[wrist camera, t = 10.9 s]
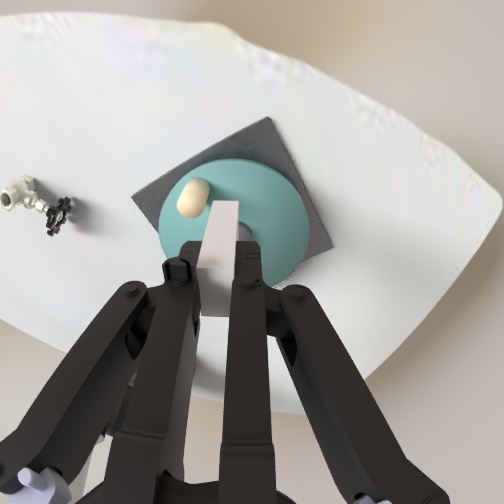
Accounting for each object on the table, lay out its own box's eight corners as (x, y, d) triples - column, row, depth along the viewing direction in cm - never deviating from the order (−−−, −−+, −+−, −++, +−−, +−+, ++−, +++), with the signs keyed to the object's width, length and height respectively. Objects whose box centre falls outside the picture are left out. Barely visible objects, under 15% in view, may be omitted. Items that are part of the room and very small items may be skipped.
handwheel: (329, 250, 43) (340, 280, 37) (215, 303, 48) (211, 335, 42) (260, 128, 33) (263, 141, 27) (134, 209, 39) (116, 235, 33)
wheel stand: (331, 244, 46) (335, 254, 44) (212, 296, 51) (210, 307, 49) (267, 116, 35) (268, 118, 33) (132, 194, 41) (126, 202, 38)
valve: (18, 194, 39) (67, 223, 43) (-4, 212, 34) (48, 244, 38) (23, 162, 36) (75, 191, 40) (-1, 177, 31) (54, 210, 35)
